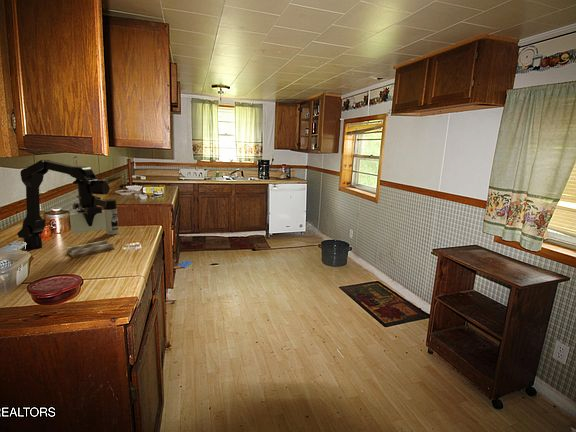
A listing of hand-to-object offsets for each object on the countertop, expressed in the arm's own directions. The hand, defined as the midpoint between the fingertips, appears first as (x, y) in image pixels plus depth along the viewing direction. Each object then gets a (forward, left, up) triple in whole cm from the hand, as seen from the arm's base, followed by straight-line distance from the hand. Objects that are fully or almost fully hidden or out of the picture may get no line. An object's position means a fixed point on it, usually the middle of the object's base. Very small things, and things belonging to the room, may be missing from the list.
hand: (88, 225), depth 152 cm
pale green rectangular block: (0, 0, -3) cm, 3 cm away
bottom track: (0, 0, -13) cm, 13 cm away
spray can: (+21, +25, -13) cm, 35 cm away
